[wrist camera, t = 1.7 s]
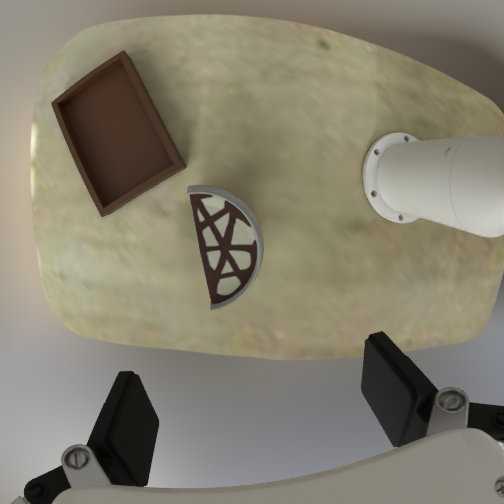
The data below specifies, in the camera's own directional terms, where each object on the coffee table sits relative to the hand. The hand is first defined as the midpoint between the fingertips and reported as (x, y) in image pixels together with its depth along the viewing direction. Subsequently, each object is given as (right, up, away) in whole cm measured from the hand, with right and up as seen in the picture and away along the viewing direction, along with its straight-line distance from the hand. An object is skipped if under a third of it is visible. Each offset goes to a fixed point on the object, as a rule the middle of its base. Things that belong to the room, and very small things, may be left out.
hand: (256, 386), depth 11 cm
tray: (-17, +20, +21) cm, 34 cm away
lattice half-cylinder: (-3, +8, +25) cm, 27 cm away
